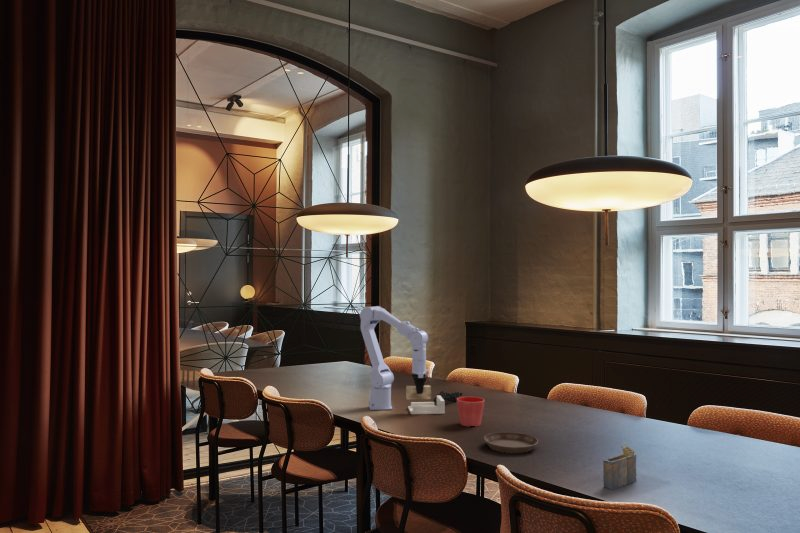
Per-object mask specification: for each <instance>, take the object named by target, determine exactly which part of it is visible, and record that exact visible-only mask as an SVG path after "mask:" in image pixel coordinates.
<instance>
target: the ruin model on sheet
mask: <svg viewBox="0 0 800 533" xmlns="http://www.w3.org/2000/svg"><path fill="white" fill-rule="evenodd" d="M621 448H622V454H620V455H616V456H613V457H608V460H606V459H602V460H603V467H602V468H603V470H602V471H603V474H602V475H603V480H602V481H603V488H605V487H606V489H608V488H609V489H608V490H614V488H615V489H618V488H620V486H621V487H624V486H626V484H627V485H629V484H631V482H632V483H635V482H637V454H635V450H633V449H631V448H630V447H629V446H627V445H626V444H625V446H621ZM623 485H624V486H623ZM617 487H618V488H617Z"/></svg>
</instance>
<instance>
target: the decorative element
mask: <svg viewBox="0 0 800 533" xmlns="http://www.w3.org/2000/svg"><path fill="white" fill-rule="evenodd" d="M437 395H440V396H441V397H442V398H443V399H444V401H445V403H446V402H450V403H455V402H456V403H457V398H459V397H463V392H459V391H455V392H450V393H449V392H446V391H445V392H444V391H440V392H439V393H437V394H436V396H435V397H433V399H432V400H433V401H432V402H434V405H437Z"/></svg>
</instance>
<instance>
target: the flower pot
mask: <svg viewBox="0 0 800 533" xmlns="http://www.w3.org/2000/svg"><path fill="white" fill-rule="evenodd" d="M456 399H457V401H456V404H457V412H458V418H459V423H460V425H461V426H462V427H463V426H464V427H470V426H475V427H479V426H481V424H482V418H483V413H484V407H485V399H484V398H483V397H478V396H460V397H459V398H456Z"/></svg>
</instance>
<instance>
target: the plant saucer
mask: <svg viewBox="0 0 800 533" xmlns="http://www.w3.org/2000/svg"><path fill="white" fill-rule="evenodd" d="M483 439H484V442H485V443H486V445H487V446H488V447H489V448H490V449H491V450H493V451H495V450H496V452H500V453H504V452H505V454H524V452H525V453H528V451H529V452H531V451H532V450H533V449H534V448H535V447H536V446H537V445H538V443H539V440H538V439H537V438H536V437H534V436H532V435H529V434H527V433H521V432H514V431H513V432H511V431H501V432H500V431H498V432H492V433H488V434H486V435H484V436H483Z"/></svg>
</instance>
